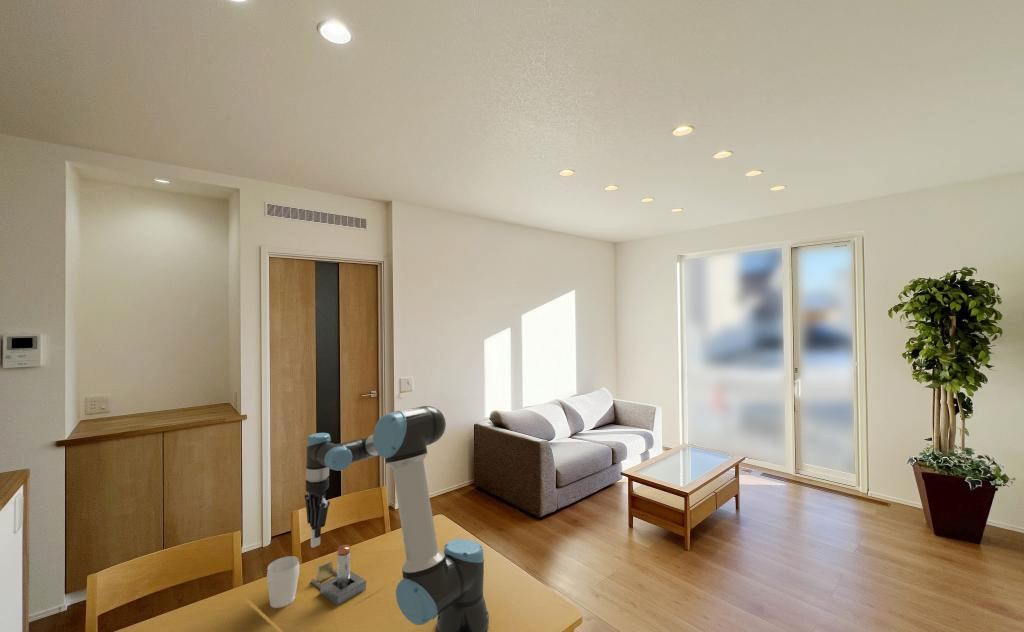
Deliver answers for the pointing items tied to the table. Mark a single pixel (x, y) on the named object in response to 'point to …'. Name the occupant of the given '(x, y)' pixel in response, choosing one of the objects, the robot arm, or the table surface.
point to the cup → (282, 581)
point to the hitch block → (336, 594)
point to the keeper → (324, 570)
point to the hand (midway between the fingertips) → (315, 545)
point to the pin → (343, 566)
